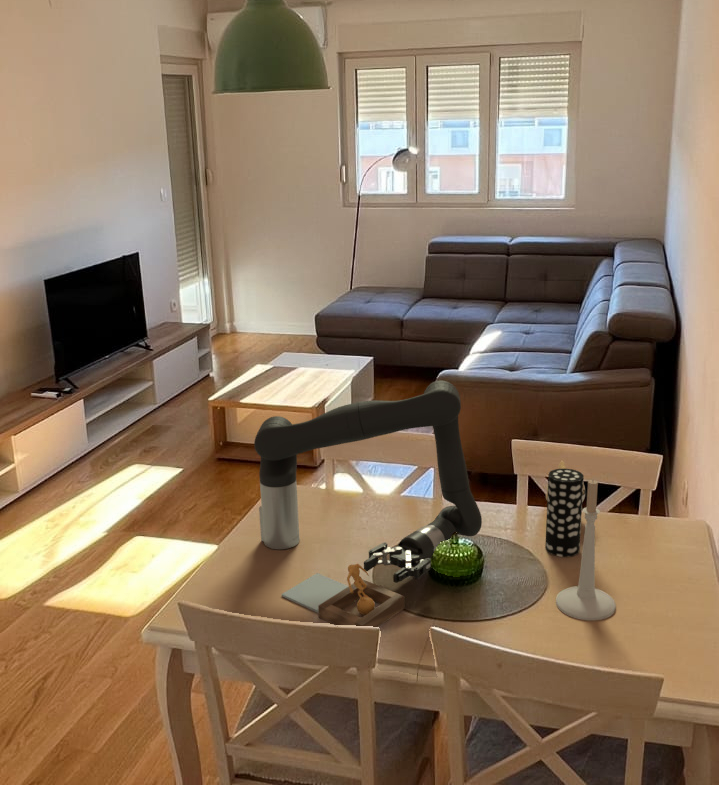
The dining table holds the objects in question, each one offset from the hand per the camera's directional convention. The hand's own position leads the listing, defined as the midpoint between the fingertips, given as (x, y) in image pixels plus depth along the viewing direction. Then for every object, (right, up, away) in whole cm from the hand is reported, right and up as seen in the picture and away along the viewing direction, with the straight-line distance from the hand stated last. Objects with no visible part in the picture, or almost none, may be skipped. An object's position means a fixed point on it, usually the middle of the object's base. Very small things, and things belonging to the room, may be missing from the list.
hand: (379, 572), depth 192 cm
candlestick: (+46, -7, -2) cm, 46 cm away
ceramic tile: (-14, -6, +6) cm, 16 cm away
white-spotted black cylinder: (+46, +1, +23) cm, 52 cm away
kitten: (+51, +6, +38) cm, 64 cm away
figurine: (-4, -8, -2) cm, 10 cm away
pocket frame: (-4, -8, -3) cm, 9 cm away
